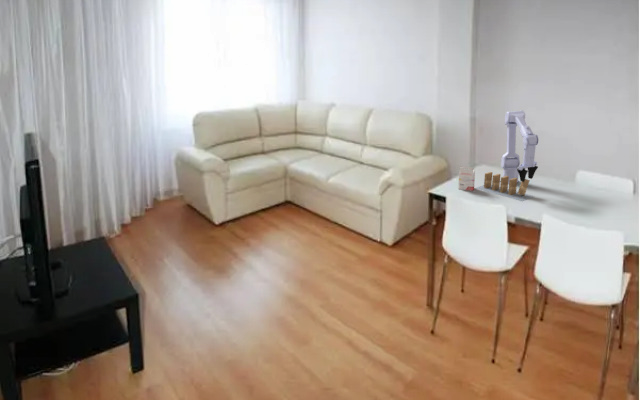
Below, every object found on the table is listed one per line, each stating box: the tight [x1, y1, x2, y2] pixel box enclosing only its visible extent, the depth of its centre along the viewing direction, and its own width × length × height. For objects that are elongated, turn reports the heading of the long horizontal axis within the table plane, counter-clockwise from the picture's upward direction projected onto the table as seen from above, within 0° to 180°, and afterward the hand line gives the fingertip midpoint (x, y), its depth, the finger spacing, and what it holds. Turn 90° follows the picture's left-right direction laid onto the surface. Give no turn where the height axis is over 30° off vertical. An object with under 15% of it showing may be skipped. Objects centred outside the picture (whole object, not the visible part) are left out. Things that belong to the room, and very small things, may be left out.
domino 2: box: [492, 173, 501, 191], centre depth 281 cm, size 2×5×9 cm, turn 126°
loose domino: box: [517, 178, 530, 196], centre depth 269 cm, size 2×5×9 cm, turn 126°
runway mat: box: [475, 184, 535, 202], centre depth 278 cm, size 12×31×1 cm, turn 35°
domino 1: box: [483, 171, 493, 188], centre depth 286 cm, size 2×5×9 cm, turn 126°
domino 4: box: [508, 178, 518, 195], centre depth 273 cm, size 2×5×9 cm, turn 125°
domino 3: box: [499, 176, 509, 193], centre depth 277 cm, size 2×5×9 cm, turn 126°
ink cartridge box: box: [457, 166, 476, 192], centre depth 284 cm, size 9×5×15 cm, turn 62°
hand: (526, 179), depth 269 cm, fingers open, 7 cm apart
